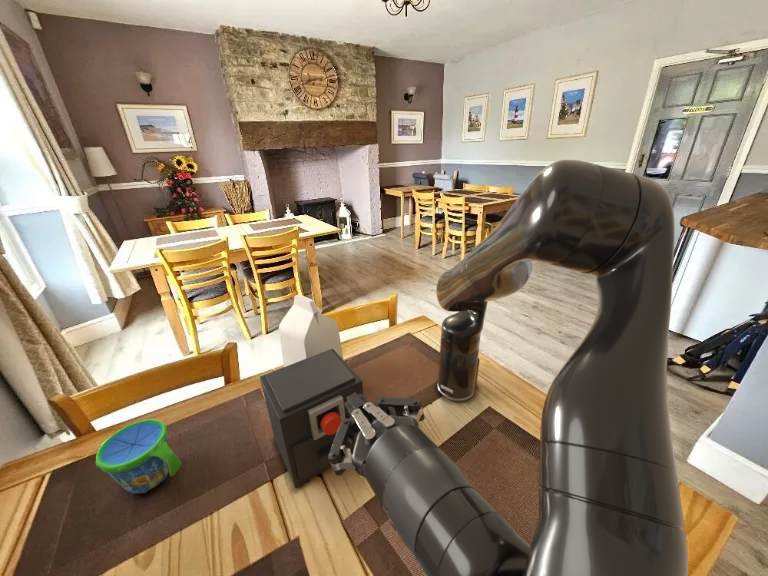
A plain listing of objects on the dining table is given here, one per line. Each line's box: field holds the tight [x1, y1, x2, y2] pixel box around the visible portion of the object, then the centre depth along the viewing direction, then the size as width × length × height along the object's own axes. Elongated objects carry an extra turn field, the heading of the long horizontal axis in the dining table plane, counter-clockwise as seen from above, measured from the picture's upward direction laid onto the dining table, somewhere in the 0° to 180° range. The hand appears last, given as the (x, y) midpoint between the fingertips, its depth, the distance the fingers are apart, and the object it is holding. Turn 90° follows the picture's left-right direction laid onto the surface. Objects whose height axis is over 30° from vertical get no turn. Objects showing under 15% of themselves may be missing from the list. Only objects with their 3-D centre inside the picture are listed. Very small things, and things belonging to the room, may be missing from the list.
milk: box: [278, 293, 344, 367], centre depth 80 cm, size 12×12×26 cm
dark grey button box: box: [259, 348, 364, 489], centre depth 63 cm, size 16×16×19 cm
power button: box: [321, 412, 342, 435], centre depth 55 cm, size 4×2×4 cm, turn 124°
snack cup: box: [94, 418, 182, 495], centre depth 60 cm, size 16×10×10 cm
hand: (352, 400), depth 44 cm, fingers closed
